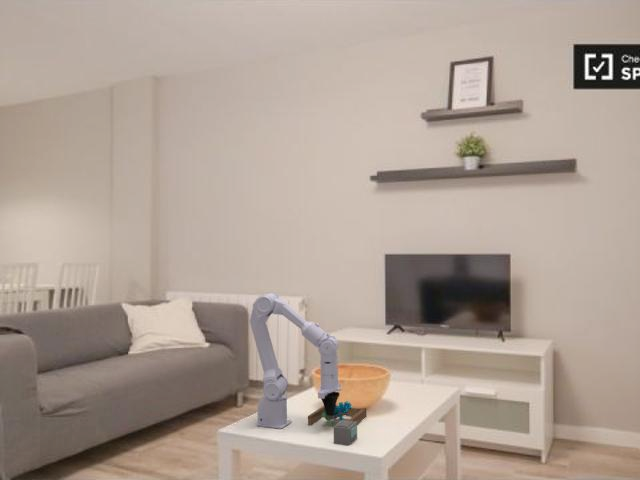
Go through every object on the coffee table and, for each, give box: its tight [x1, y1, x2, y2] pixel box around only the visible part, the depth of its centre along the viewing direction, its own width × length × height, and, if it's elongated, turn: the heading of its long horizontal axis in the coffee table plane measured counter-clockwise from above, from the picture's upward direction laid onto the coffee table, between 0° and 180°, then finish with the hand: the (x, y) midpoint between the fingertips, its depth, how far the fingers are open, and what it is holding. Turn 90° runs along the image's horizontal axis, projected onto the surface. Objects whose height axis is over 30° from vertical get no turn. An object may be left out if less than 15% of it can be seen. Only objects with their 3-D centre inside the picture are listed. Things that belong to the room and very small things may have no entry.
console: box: [333, 419, 358, 446], centre depth 175 cm, size 5×7×5 cm
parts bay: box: [307, 404, 367, 426], centre depth 195 cm, size 15×15×3 cm
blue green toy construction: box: [322, 401, 352, 427], centre depth 192 cm, size 11×6×10 cm
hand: (330, 415), depth 189 cm, fingers closed
